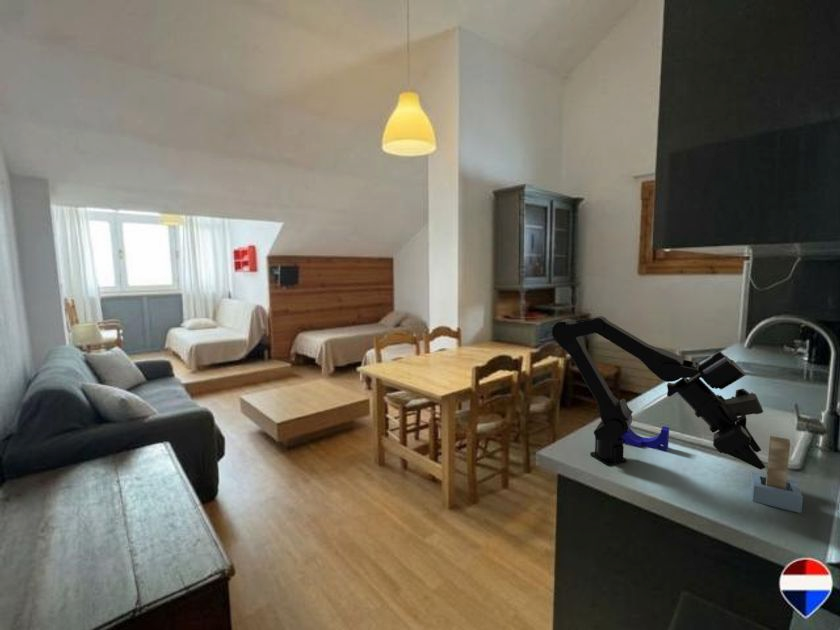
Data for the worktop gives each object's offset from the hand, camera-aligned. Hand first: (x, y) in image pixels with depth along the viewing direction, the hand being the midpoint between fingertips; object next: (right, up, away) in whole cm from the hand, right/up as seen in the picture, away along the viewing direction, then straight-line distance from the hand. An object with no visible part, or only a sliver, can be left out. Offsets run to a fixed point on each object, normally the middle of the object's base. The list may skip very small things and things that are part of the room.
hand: (760, 459), depth 87 cm
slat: (+2, -8, -1) cm, 8 cm away
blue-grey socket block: (+2, -8, -1) cm, 9 cm away
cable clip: (-11, -6, +26) cm, 29 cm away
